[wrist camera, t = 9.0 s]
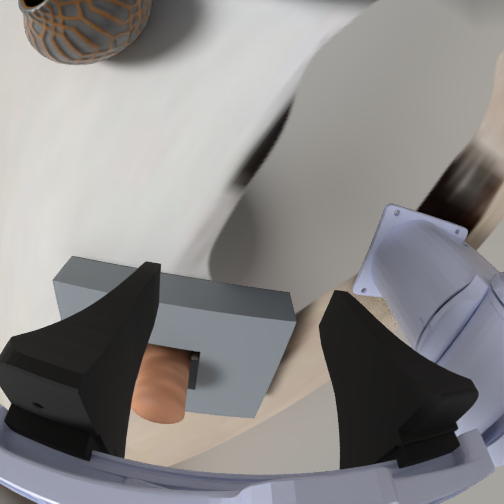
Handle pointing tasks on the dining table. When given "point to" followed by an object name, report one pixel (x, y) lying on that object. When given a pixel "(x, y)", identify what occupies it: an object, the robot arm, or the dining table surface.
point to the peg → (162, 384)
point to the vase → (83, 27)
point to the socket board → (201, 330)
